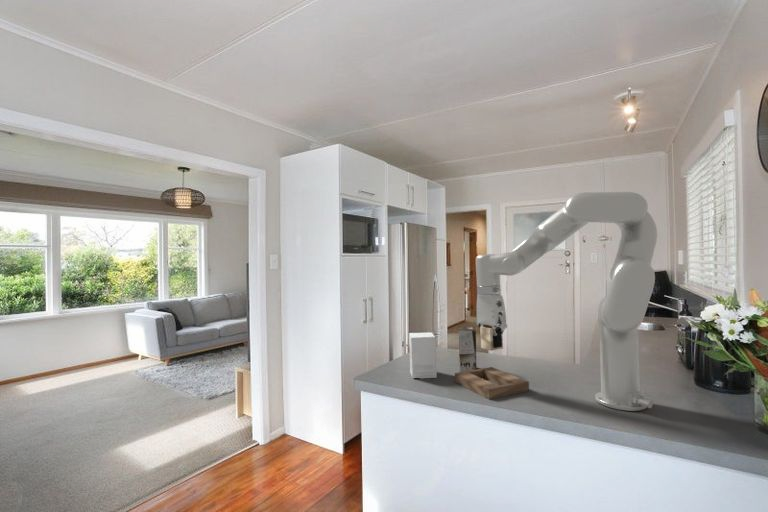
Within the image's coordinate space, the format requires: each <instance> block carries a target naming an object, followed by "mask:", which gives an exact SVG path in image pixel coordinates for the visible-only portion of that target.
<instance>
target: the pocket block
mask: <svg viewBox="0 0 768 512" xmlns="http://www.w3.org/2000/svg"><path fill="white" fill-rule="evenodd" d="M482 378H483V379H482ZM484 378H485V379H484ZM489 380H490V381H489ZM491 381H492V382H491ZM456 382H457V383H456ZM493 382H494V383H493ZM454 383H456V384H458V383H459V384H458V385H461V386H462V387H464V388H466V389H468V390H470V391H472V392H474V393H476V394H477V395H480V396H482V397H483V398H485V399H487V400H492V399H496V398H501V397H506V396H511V395H516V394H520V393H526V392H529V391H530V381H528V380H526V379H524V378H521V377H518V376H516V375H513V374H511V373H507V372H505V371H503V370H500V369H498V368H495V367H493V366H491V367H484V368H479V369H477V368H476V370H471V371H465V372H460V371H459V372H454Z"/></svg>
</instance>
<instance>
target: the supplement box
mask: <svg viewBox="0 0 768 512" xmlns="http://www.w3.org/2000/svg"><path fill="white" fill-rule="evenodd" d="M408 339H409V340H408V342H409V343H408V344H409V345H408V346H409V347H408V348H409V350H408V351H409V372H410V375H411V378H412V380H414V378H420V379H436V378H437V371H438V370H437V345H436V336H435V335H434V333H433V332H409V333H408Z"/></svg>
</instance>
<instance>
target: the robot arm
mask: <svg viewBox="0 0 768 512" xmlns="http://www.w3.org/2000/svg"><path fill="white" fill-rule="evenodd" d="M648 209H649V204H648V201H647V200H646V198H645V197H644V196H643V195H642V194H639V193H637V192H635V191H602V192H601V191H600V192H598V191H597V192H595V191H594V192H593V191H591V192H589V191H588V192H578V193H575V194H573V195H572V196H570V197H569V198H568V199H567V201H566V203H565V204H563V206H561V207H560V208H559V209H557V210H556V211H555V212H554V213H552V214H551V215H550V216H548V217H547V218H546V219H544V220H543V221H542V222H541V223H540V224H539V225H537V226H536V227H535V229H533V231H532V232H531V234H530V235H529V237H527V238H526V239H525V240H524V241H523V242H522V243H520V244H519V245H518V246H516V247H515V248H514V249H512V250H511V251H509V252H503V253H497V254H494V253H486V254H478V255H477V256H476V257H475V271H476V274H475V275H476V289H477V290H476V291H477V295H476V319H475V323H476V325H477V326H478V328H479V329H480V327H484V326H492V329H493V333H494V335H493V347H494V348H498V347H502V337H503V334H504V331H505V330H506V329H507V328H508V323H507V312H506V306H505V301H504V297H503V295H502V293H501V291H502V288H501V277H500V275H501V276H508V277H509V276H511V277H512V276H515V275H518V274H520V273H523V271H524V270H526V269H527V268H529V267H530V266H531V265H532V264H534V263H535V262H536V261H538V260H539V259H540V258H542V257H543V256H544V255H545V254H547V253H549V252H551V251H553V250H554V249H555V248H556V247H558V246H559V245H560V244H562V243H564V242H565V241H566V240H568V238H570V237H571V236H572V235H574V234H575V233H576V232H578V231H579V230H580V229H582V228H583V227H584V226H586V225H587V224H588V223H604V224H605V223H607V224H609V223H610V224H612V223H613V224H615V225H616V226H618V227H619V229H620V232H621V236H620V240H619V244H618V249H617V253H616V256H615V259H614V261H613V264H612V267H611V269H610V273H609V275H610V276H609V277H610V280H611V281H610V284H609V287H608V290H607V294H606V296H604V297H603V298H602V300H601V301H600V302H599V305H598V309H597V310H598V326H599V356H600V357H599V358H600V362H599V363H600V364H599V365H600V391H599V392H596V393H595V398H594V399H595V401H596V402H597V403H599V404H601V405H603V406H605V407H608V408H611V409H615V410H620V411H629V412H630V411H631V412H637V411H643V410H645V409H646V408H648V409H652V408H653V406H654V405H653V404H654V399H653V398H649V397H646V396H645V395H644V393H645V392H644V390H642V389H640V362H639V360H640V359H639V358H640V357H639V350H640V349H639V348H640V347H639V345H640V344H639V332H638V330H639V329H638V328H639V326H640V325H641V324H642V323H643V320H644V318H645V315H646V314H647V313H646V312H647V310H648V306H649V303H650V300H651V297H652V293H653V290H654V286H655V282H656V281H655V280H656V275H655V271H654V268H653V267H652V265H651V264H652V261H653V257H654V253H655V248H656V245H657V240H658V239H657V238H658V229H657V225H656V222H655V220H654V218H653V216H652V215H651V214H650V213H649V211H648ZM496 327H498V329H497V330H496Z"/></svg>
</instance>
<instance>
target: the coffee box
mask: <svg viewBox="0 0 768 512" xmlns="http://www.w3.org/2000/svg"><path fill="white" fill-rule="evenodd" d="M458 359H459V361H458V363H459V372H465V371H471V370H477V329H476V327H475V326H458Z"/></svg>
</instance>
